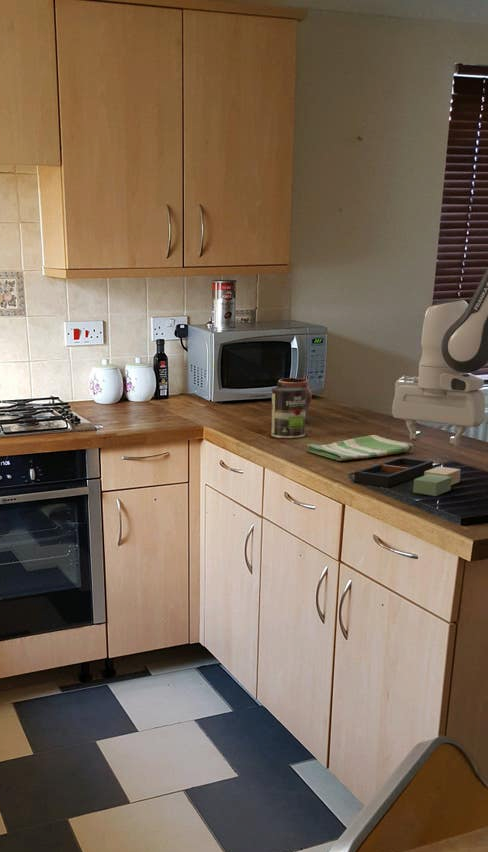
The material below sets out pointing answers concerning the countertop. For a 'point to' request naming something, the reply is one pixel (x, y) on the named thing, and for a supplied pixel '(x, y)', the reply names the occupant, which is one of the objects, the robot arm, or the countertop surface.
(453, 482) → the cream pad
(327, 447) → the dish towel
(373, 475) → the divided tray
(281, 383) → the decorative planter
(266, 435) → the countertop surface
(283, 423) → the coffee can
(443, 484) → the sage pad
